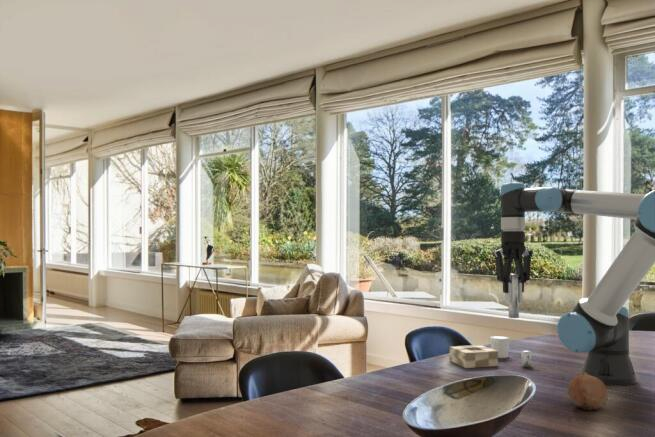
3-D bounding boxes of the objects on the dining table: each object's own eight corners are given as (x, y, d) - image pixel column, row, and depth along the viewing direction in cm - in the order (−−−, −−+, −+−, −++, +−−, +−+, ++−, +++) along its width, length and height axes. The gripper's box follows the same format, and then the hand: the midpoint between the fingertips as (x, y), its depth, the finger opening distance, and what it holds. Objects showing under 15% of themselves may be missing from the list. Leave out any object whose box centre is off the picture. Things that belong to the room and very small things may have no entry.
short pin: (533, 366, 208) (533, 352, 208) (524, 367, 207) (524, 352, 207) (527, 364, 211) (527, 350, 211) (519, 365, 210) (519, 350, 210)
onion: (579, 416, 163) (574, 377, 168) (616, 412, 157) (609, 373, 162) (564, 409, 157) (559, 370, 162) (602, 405, 151) (595, 365, 156)
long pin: (520, 317, 199) (520, 274, 200) (512, 318, 198) (511, 274, 199) (515, 316, 202) (514, 273, 203) (506, 316, 202) (506, 273, 202)
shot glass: (512, 358, 222) (511, 338, 222) (492, 358, 222) (492, 338, 222) (506, 354, 229) (506, 335, 229) (488, 354, 229) (488, 335, 229)
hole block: (497, 365, 210) (497, 351, 210) (465, 368, 207) (465, 353, 207) (480, 358, 221) (480, 344, 221) (449, 360, 218) (449, 346, 218)
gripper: (528, 230, 207) (529, 300, 206) (484, 230, 202) (485, 302, 202) (541, 230, 199) (542, 303, 199) (496, 230, 195) (497, 305, 195)
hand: (513, 302), depth 200 cm, fingers closed on long pin, 3 cm apart
